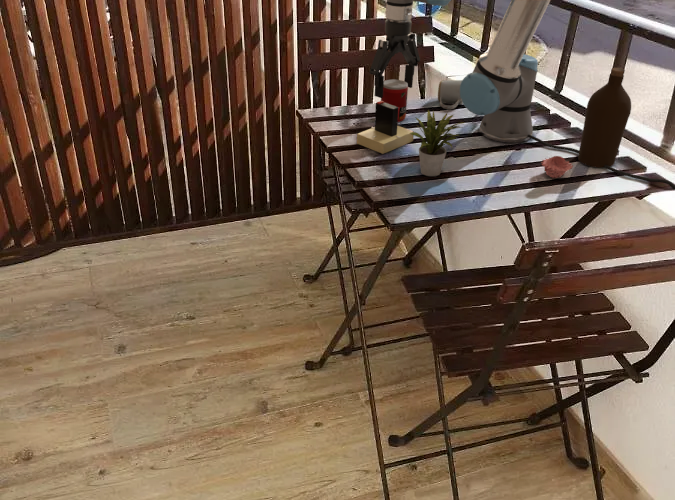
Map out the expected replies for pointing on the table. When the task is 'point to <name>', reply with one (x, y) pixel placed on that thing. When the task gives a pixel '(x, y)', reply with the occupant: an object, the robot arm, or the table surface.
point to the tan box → (384, 139)
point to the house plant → (434, 144)
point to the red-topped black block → (386, 118)
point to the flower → (556, 166)
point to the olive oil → (605, 122)
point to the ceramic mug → (449, 93)
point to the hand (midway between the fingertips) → (393, 91)
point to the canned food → (396, 96)
